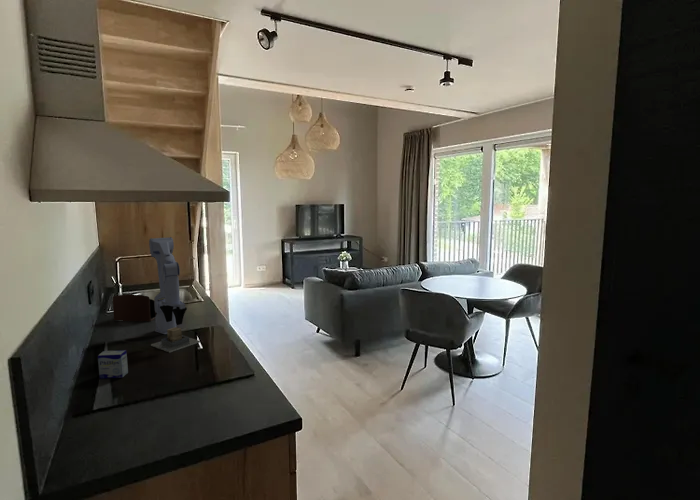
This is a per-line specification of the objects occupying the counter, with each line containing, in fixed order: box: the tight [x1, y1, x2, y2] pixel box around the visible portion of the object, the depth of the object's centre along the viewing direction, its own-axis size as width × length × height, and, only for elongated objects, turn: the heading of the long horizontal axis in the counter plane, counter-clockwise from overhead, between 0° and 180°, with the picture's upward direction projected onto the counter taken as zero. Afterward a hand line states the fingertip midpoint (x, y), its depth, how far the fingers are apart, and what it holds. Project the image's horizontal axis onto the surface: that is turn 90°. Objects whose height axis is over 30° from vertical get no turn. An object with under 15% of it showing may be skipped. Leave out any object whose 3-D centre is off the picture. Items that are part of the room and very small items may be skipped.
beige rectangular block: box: [166, 327, 183, 341], centre depth 169 cm, size 4×4×6 cm
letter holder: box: [112, 293, 157, 322], centre depth 207 cm, size 10×20×14 cm, turn 86°
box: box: [97, 349, 129, 380], centre depth 138 cm, size 8×4×9 cm, turn 95°
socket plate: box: [150, 334, 201, 353], centre depth 169 cm, size 14×14×3 cm
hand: (174, 322), depth 169 cm, fingers open, 7 cm apart
